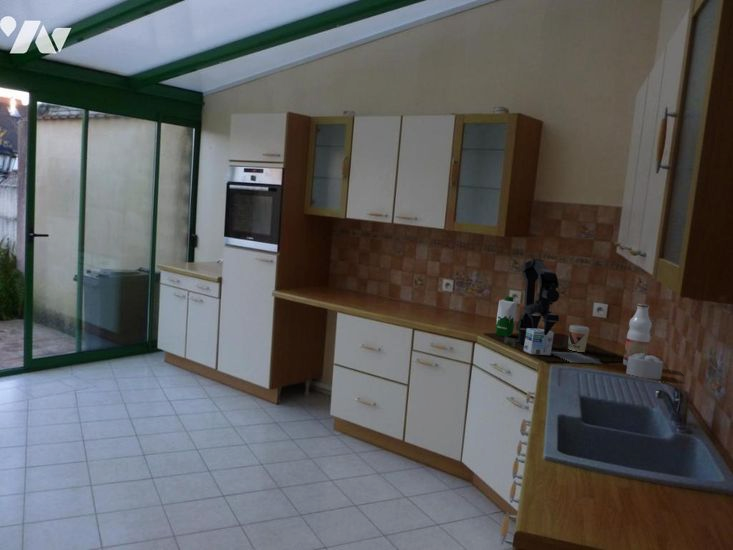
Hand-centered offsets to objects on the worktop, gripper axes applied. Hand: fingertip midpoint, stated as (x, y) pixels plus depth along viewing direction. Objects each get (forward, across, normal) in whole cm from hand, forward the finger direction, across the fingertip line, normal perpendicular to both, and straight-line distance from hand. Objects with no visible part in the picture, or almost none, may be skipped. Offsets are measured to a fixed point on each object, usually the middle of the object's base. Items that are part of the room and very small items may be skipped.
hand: (539, 332), depth 278 cm
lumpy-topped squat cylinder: (+10, +33, +30) cm, 46 cm away
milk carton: (+10, -39, +4) cm, 40 cm away
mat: (+9, +7, +15) cm, 19 cm away
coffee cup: (+10, -9, +27) cm, 30 cm away
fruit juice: (+10, +17, +39) cm, 44 cm away
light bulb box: (+10, 0, 0) cm, 10 cm away
